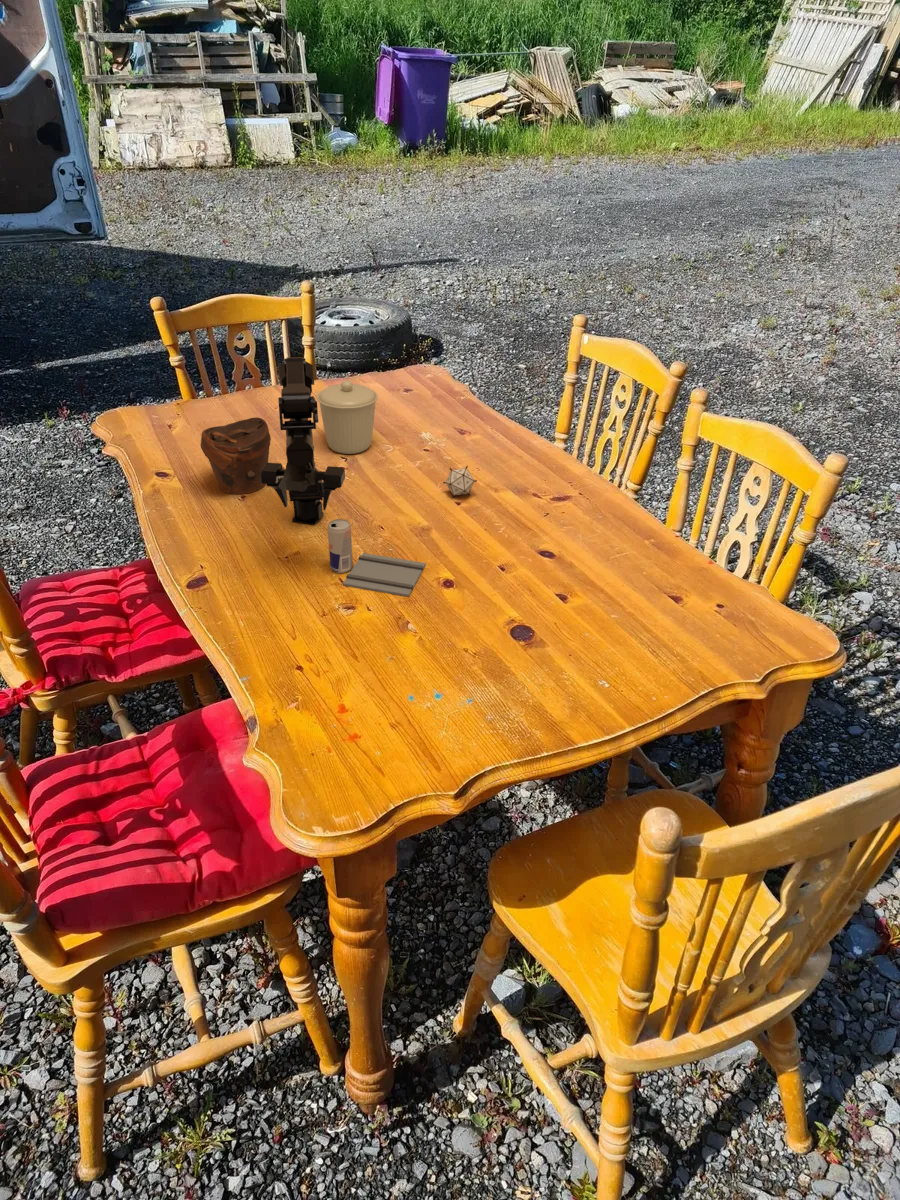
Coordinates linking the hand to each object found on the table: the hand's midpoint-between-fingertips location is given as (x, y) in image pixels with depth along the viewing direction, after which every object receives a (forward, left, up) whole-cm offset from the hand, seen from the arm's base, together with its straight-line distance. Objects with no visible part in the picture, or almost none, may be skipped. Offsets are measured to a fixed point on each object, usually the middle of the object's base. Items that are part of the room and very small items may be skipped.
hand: (305, 508), depth 189 cm
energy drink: (+9, -3, -14) cm, 17 cm away
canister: (-13, +62, -14) cm, 65 cm away
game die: (+27, +42, -14) cm, 52 cm away
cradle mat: (+20, -3, -13) cm, 24 cm away
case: (-33, +29, -14) cm, 46 cm away
